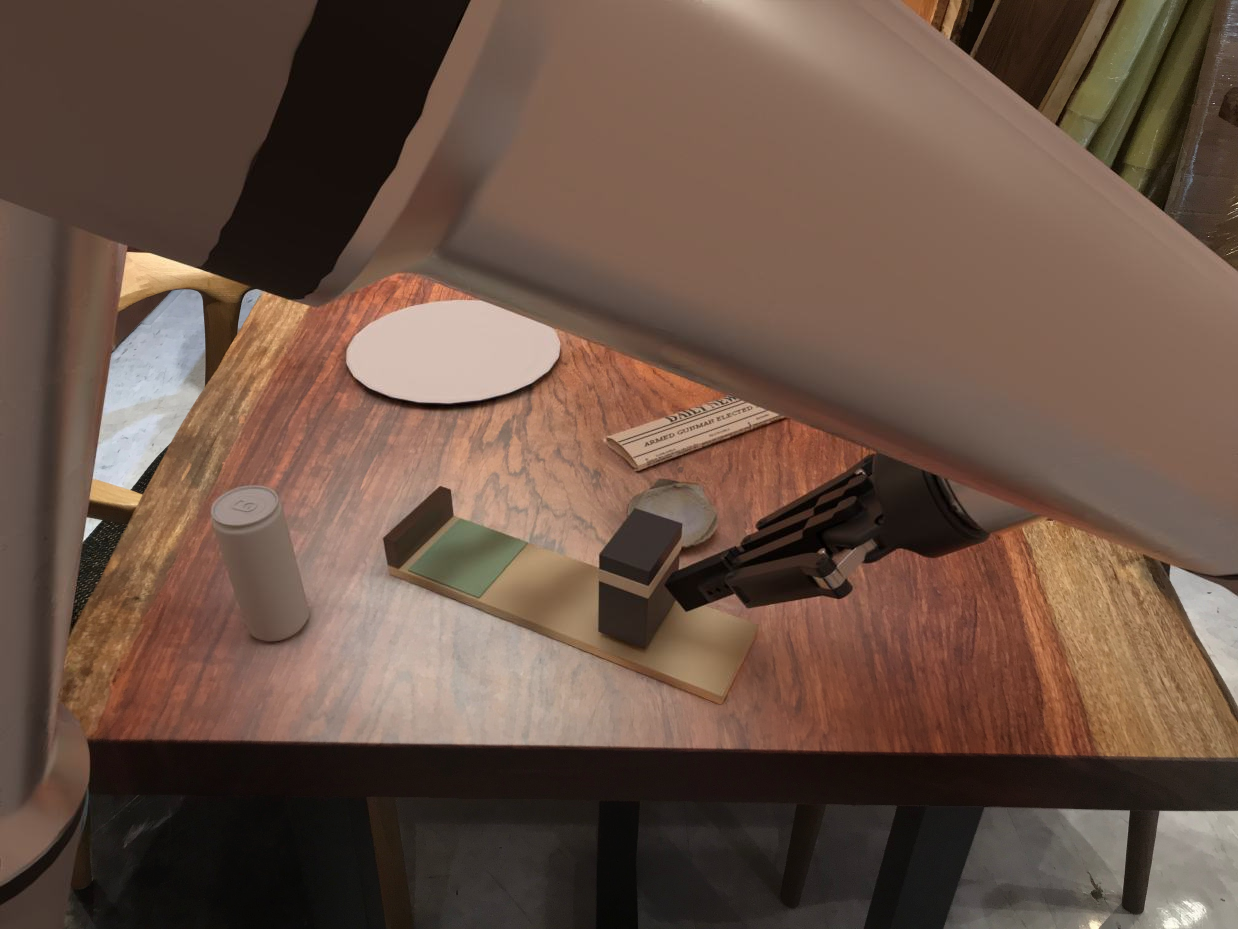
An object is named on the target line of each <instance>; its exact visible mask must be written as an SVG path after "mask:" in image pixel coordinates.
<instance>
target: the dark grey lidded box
mask: <svg viewBox="0 0 1238 929" xmlns="http://www.w3.org/2000/svg"><path fill="white" fill-rule="evenodd" d="M682 525H683V524H682V523H680V522H677V521H674V520H671V519H668V518H664V517H661V516H658V515H655V514H652V513H649V512H646V511H643V510H640V509H637V508H634V510H633V511H632V512H631V514H630V515H629V516H628V517H627V516H626V519H625V520H624V521H623V522H622V524H621V525H620V526H619V528H618V529H617V530H616V532H615V533H614V534H613V535H612V536H611V538H610V540H609V541H608V542H607V543H606V544H605V545H604V547H603V549H602V550H601V551H600V552H599V554H598V581H599V606H598V632H600V633H603V634H605V635H608V636H611V637H613V638H616V639H618V640H621V641H624V642H626V643H629V644H631V645H634V646H637V647H639V648H642V649H646V647H647V646H648V644H649V642H650V641H651V639H652V638H653V636H654V634H655V633H656V631H657V630H658V628H659V626H660V625H661V623H662V622H663V620H664V618H665V617H666V615H667V614H668V612H669V610H670V609H671V607H672V606H673V604H674V603H675V601H676V599H675V598H674V597H673V596H672V594H671V593H670V592H669V591H668V590H667V588H666V587H665V586H664V584H665V583H666V581H667V580H668V578H669V577H670V575H671V574H672V573H673V572H675V571H678V570H680V559H681V550H682V548H681V546H682Z"/></svg>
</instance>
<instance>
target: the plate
mask: <svg viewBox="0 0 1238 929" xmlns="http://www.w3.org/2000/svg"><path fill="white" fill-rule="evenodd" d="M561 346H562V343H561V341H560V337H559V335H558V333H557V331H556V329H555V328H552V327H549V326H547V325H544V324H542V323H539V322H536V321H534V320H531V319H529V318H526V317H523V316H521V315H518V314H516V313H513V312H510V311H508V310H505V309H503V308H500V307H497V306H495V305H492V304H490V303H487V302H484V301H482V300H479V299H451V300H439V301H438V300H437V301H430V302H426V303H420V304H416V305H411V306H407V307H404V308H401V309H397V310H395V311H392V312H390V313H386V314H385V315H383V316H381V317H379V318H377V319H375V320H373V321H371V322H370V323H368V324H367V325H365V326H364V327H363V328H362V329H361V330H360V331H358V332H357V333H356V334H355V335H354V336H353V337H352V340H351V341H350V343H349V345H348V347H347V348H346V351H345V352H346V355H345V357H346V358H345V360H346V361H345V363H346V367H347V369H348V370H349V372H350V374H351V375H352V377H353V379H355V381H357V382H358V383H360V384H361V385H362V386H364V387H365V388H367V389H368V390H369V391H371V392H374V393H376V394H377V393H378V394H380V395H382V396H384V397H387V398H390V399H393V400H397V401H404V402H408V403H414V404H420V405H439V406H441V405H443V406H452V405H462V404H471V403H482V402H485V401H488V400H493V399H496V398H497V399H498V398H501V397H505V396H509V395H511V394H513V393H516V392H517V391H520V390H522V389H524V388H527V387H529V386H531V385H533V384H534V383H536V382H537V381H539V380H540V379H541V378H543V377H544V376H545V375H547V374H548V373H550V371H551V370H552V368H553V367H554V365H555V364H556V363H557V361H558V360H559V357H560V351H561Z"/></svg>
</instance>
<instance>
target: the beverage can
mask: <svg viewBox="0 0 1238 929" xmlns="http://www.w3.org/2000/svg"><path fill="white" fill-rule="evenodd" d="M210 515H211V525H212V528H213V531H214V535H215V538H216V540H217V544H218V547H219V550H220V553H221V557H222V559H223V563H224V565H225V569H226V572H227V574H228V578H229V580H230V583H231V587H232V590H233V592H234V596H235V599H236V601H237V604H238V608H239V610H240V613H241V617H242V619H243V622H244V624H245V628H246V629H247V632H248V633H249V634H250V635H251V636H252V637H254V638H256V639H257V640H258V641H259V640H260V641H264V642H279V641H280V642H281V641H283V640H284V641H285V640H287V639H289V638H291V637H293V636H294V635H296V634H297V633H298V632H300V631H301V629H303V628H304V626H305V625H306V623H307V622H308V619H309V615H310V609H309V608H310V607H309V603H308V601H307V600H308V599H307V596H306V592H305V588H304V585H303V581H302V577H301V572H300V569H299V568H300V567H299V565H298V564H299V563H298V561H297V558H296V557H297V556H296V553H295V549H294V546H293V542H292V537H291V534H290V529H289V526H288V521H287V518H286V514H285V510H284V506H283V503H282V501H281V500H280V498H279V496H278V494H277V492H276V491H275V490H273V489H272V488H270V487H267V486H265V485H257V484H255V485H254V484H252V485H250V484H249V485H244V486H238V487H235V488H232V489H230V490H228V491H225V492H224V493H222V494H221V495H220V496H219V497H217V498H216V499H215V501H214V502H213V504H212V505H211V508H210Z"/></svg>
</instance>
